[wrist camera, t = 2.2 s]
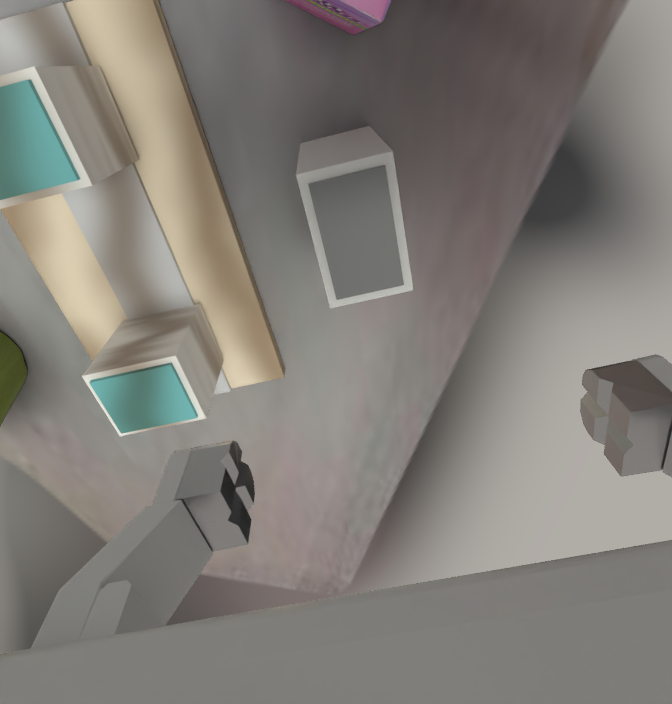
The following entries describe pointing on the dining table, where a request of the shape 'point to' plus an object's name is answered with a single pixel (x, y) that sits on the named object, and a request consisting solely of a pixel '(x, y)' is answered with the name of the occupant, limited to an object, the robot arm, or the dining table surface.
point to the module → (354, 216)
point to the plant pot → (10, 374)
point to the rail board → (127, 211)
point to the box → (347, 12)
